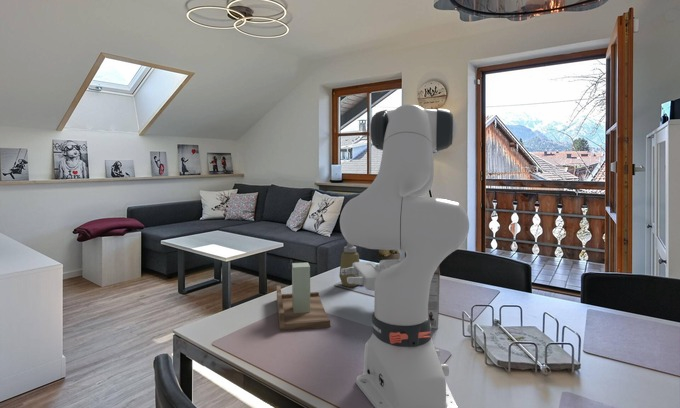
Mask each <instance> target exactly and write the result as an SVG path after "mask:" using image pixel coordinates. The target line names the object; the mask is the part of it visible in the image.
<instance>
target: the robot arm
mask: <svg viewBox="0 0 680 408" xmlns="http://www.w3.org/2000/svg"><path fill="white" fill-rule="evenodd" d="M368 128H369V129H368V130H369V131H368V133H369V138H370V141H371V144H372V146H373V147H374V148H375V149H377V150H380V151H382V152H381V153H382V154H381V158H380V159H381V160H380V165H379V169H378V173H377V175H376V176H375V178H374V180H373V181H372V183H371V184H370V185H369V186H368V187H367V188H366V189H365V190H364V191H362V192H361V193H359V194H358V195H356V196H355V197H353V198H351V199H350V200H349V201H347V203H345V205H344V206H343V208H342V210H341V213H340V217H339V227H340V232H341V234H342V236H343V237H344V239H345V241H346V242H347V243H349V244H353V246H355V247H361V248H365V249H369V250H383V251H384V250H387V251H388V250H389V251H397V252H398V253H399V258H398V259H396V258H395V259H382V260H381V259H380V261H379V263H376V262H371V261H359V262H355V263H353V264H352V267H349V268H345V269H341V274H342V275H347V274H354V275H355V276H356V277H353V276H352V277H347V282H348V284H358V285H359V286H363V287H364V288H365V290H367V291H372V292H373V291H374V300H373V302H374V306H373V307H374V309H373V310H374V311H373V312H372V315H371V331H372V333H371V336H369V339H367V341H366V343H364V353H363V355H364V356H363V371H362V373H361V374H359V375H357V377H356V379H355V383H356V385H357V387H358V388H359V389H360V390H361V392H362V393H363V395H365V397H366V398H367V399H368V401H369V402H370V403H371V405H373V407H374V408H459V406H458V405H457V402H456V400H455V398H454V395H453V394H452V392H451V389H450V387H449V385H448V383H447V381H446V377H449V375H450V369H449V366H448V364H447V363H441V361H440V359H439V358H440V356H441V354H440V349H436V347H435V345H434V342H433V336H432V328H431V323H430V318H429V316H428V300H429V291H430V284H431V280H432V277H433V275H434V272H435V270H436V269H437V267H438V266H439V267H440V264H441V263H442V262H443V261H444V260H445V259H446V258H447V257H448V256H450V255H451V254H452V253H453V252H455V251H457V250H458V249H459V248H460V247H461V246H462V245H463V244H464V243H465V242H466V239H467V237H468V234H469V231H470V221H469V215H468V213H467V212H466V209H465V208H464V206H462V204H461V203H459V201H453V200H450V199H445V198H440V197H436V196H435V197H433V196H431V197H430V196H429V197H428V196H424V195H425V194H427V193H428V192H429V191H430V190H431V189H432V187H433V182H434V174H435V173H434V169H435V168H434V164H435V163H434V162H435V161H434V152H433V151H437V152H439V151H443V150H447V149H448V148H449V147H451V146H452V145H453V142H454V140H455V138H456V134H457V123H456V119H455V118H454V114H453V113H452V112H451V111H450V110H449V109H445V108H439V107H438V108H437V109H436V108H435V109H432V108H423V107H422V106H419V105H417V104H410V103H409V104H407V103H406V104H404V105H403V104H402V105H400V106H399V107H396V108H395V109H390V110H388V109H383V110H381V111H378V112H376V113H374V115H372V117H371V120H370V123H369V127H368ZM358 285H357V286H358Z"/></svg>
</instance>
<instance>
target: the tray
mask: <svg viewBox="0 0 680 408" xmlns="http://www.w3.org/2000/svg"><path fill="white" fill-rule="evenodd" d="M276 304H277V305H276V307H277V317H278V325H279V326H278V327H279V331H280V332H283V331H294V330H295V331H297V330H308V329H320V328H321V329H322V328H323V329H324V328H331V319H329V318H328V315H327V313H326V310H325V308H324V305H323V303H322V300H321V298H320V292H319V291H314V292H313V291H312V292H311V291H310V312H304V313H294V312H293V307H292V293H282V288H281V284H276Z"/></svg>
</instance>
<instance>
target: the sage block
mask: <svg viewBox="0 0 680 408" xmlns="http://www.w3.org/2000/svg"><path fill="white" fill-rule="evenodd" d="M291 278H292V279H291V288H292V289H291V290H292V291H291V294H292V307H293V312H294V313H304V312H310V292H311V266H310V263H309V262H292V263H291Z"/></svg>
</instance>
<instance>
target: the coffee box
mask: <svg viewBox="0 0 680 408" xmlns="http://www.w3.org/2000/svg"><path fill="white" fill-rule="evenodd" d="M440 281H441V272H440V265H439V266H438V267H437V269H436V270H435V272H434V275H433V277H432V280H431V284H430V291H429V300H428V316H429V318H430V323H431V329H439V312H440V311H439V309H440Z"/></svg>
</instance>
